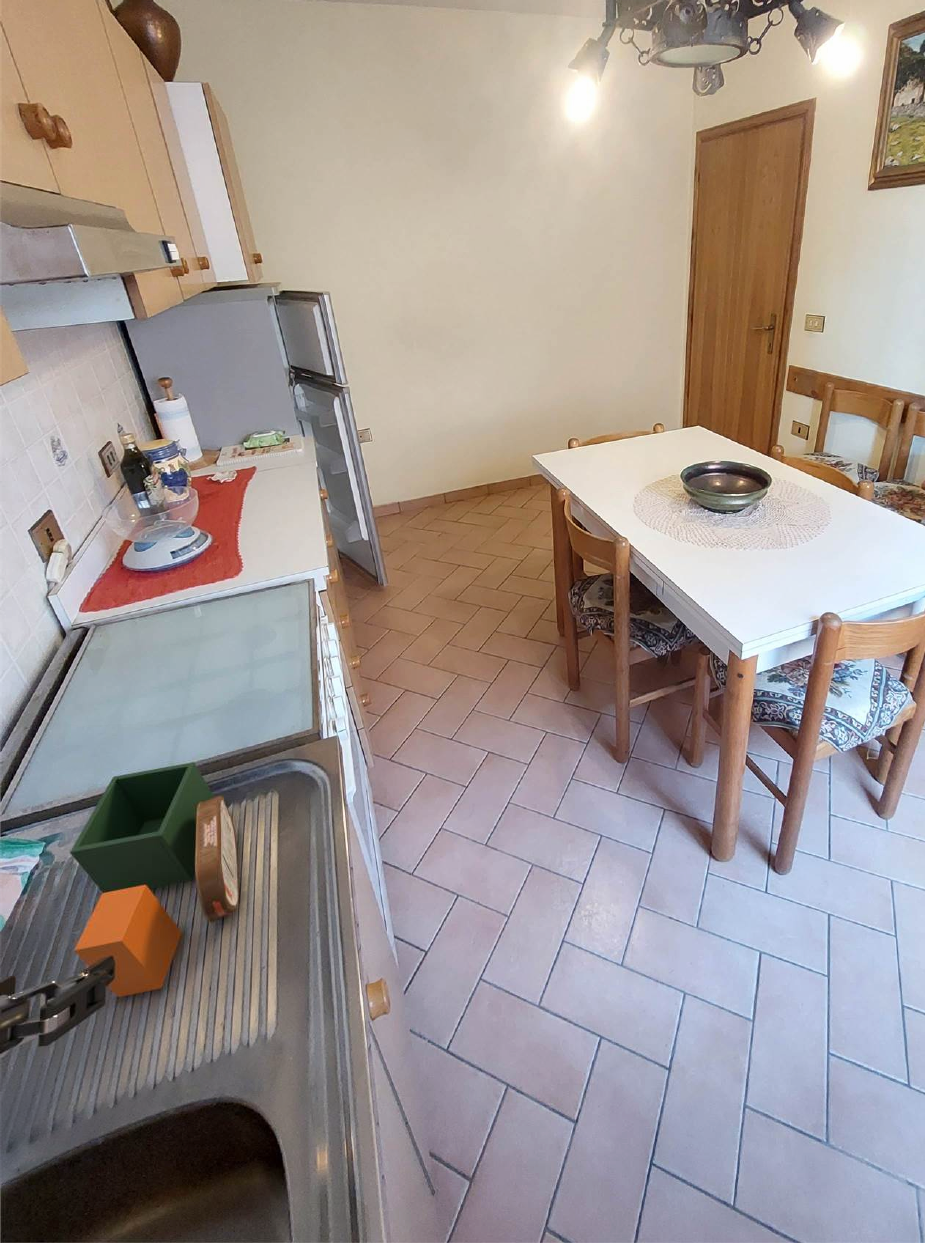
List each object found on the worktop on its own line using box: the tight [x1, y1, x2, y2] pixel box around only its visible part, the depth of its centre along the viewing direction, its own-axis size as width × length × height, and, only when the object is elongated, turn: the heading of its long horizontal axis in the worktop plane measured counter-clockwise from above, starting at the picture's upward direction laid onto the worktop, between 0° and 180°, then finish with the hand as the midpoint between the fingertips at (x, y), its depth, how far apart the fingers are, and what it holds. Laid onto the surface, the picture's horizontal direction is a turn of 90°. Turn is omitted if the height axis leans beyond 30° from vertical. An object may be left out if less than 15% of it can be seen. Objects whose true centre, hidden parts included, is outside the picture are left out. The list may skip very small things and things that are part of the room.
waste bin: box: [69, 761, 215, 893], centre depth 75 cm, size 10×10×10 cm
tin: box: [194, 795, 239, 924], centre depth 71 cm, size 15×3×8 cm, turn 27°
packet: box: [73, 885, 183, 998], centre depth 63 cm, size 4×6×10 cm
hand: (60, 978), depth 53 cm, fingers open, 8 cm apart
